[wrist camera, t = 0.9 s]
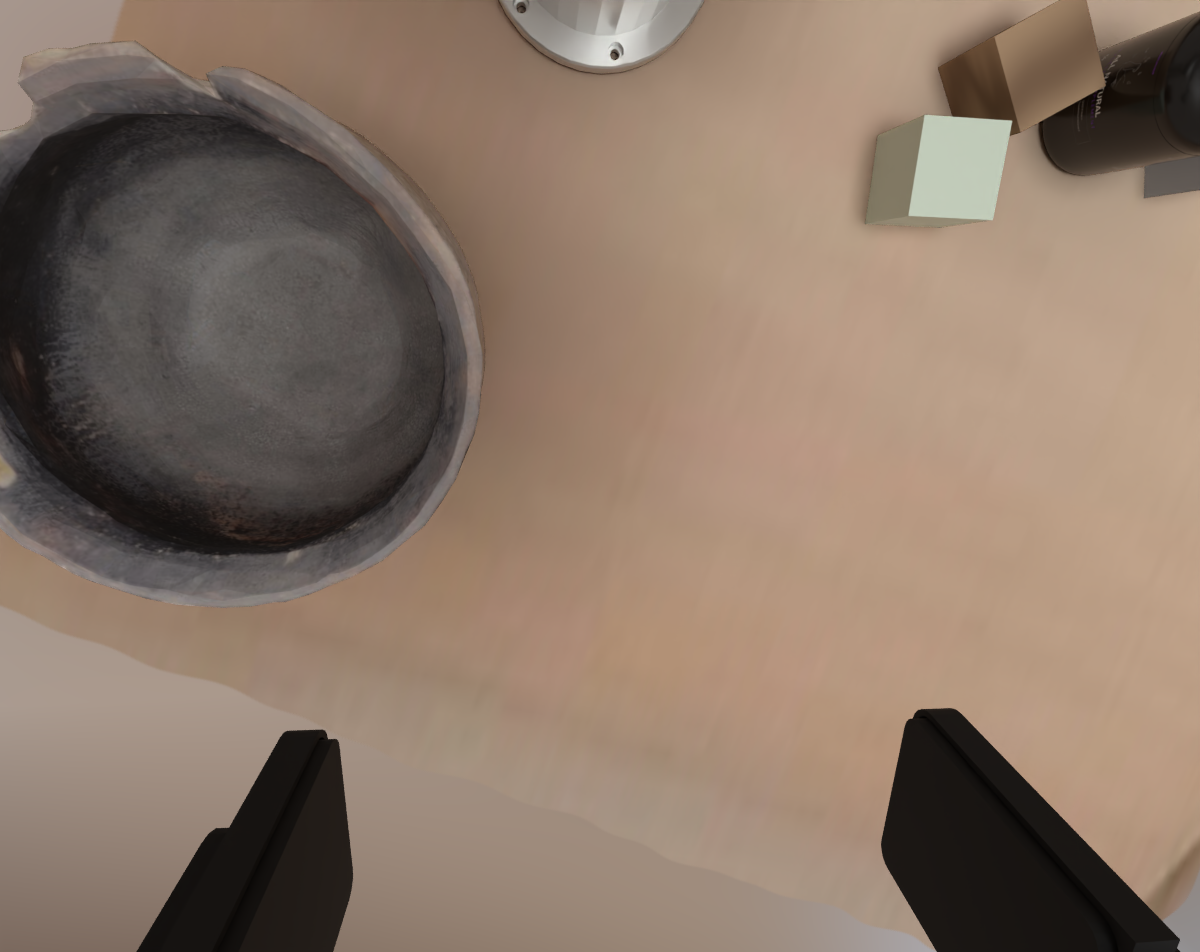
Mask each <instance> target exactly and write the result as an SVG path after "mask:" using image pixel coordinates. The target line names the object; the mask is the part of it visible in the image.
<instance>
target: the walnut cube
mask: <svg viewBox="0 0 1200 952" xmlns="http://www.w3.org/2000/svg"><path fill="white" fill-rule="evenodd" d="M938 70H939V73H940V76H941V80H942V83H943V86H944V89H945V93H946V96H947V99H948V103H949V106H950V109H951V113H952V116H953V117H965V118H980V119H994V120H1009V121H1012V125H1011V130H1010V135H1009V136H1011V135H1014V134H1017V133H1020V132H1022V131H1024V130H1026V129H1028V128H1030V127H1031V126H1033V125H1035V124H1037V123H1039V122H1040V121H1042V120H1044V119H1046V118H1048V117H1050V116H1051V115H1053V114H1055V113H1057V112H1059V111H1061V110H1062V109H1064V108H1066V107H1068V106H1070V105H1072V104H1073V103H1075V102H1077V101H1079V100H1081V99H1082V98H1084V97H1086V96H1088V95H1090V94H1092V93H1093V92H1095V91H1097V90H1099V89H1101V88H1103V87H1104V86H1106V84H1105V79H1104V75H1103V71H1102V66H1101V62H1100V57H1099V53H1098V49H1097V44H1096V40H1095V36H1094V31H1093V27H1092V22H1091V18H1090V14H1089V9H1088V5H1087V1H1086V0H1059V1H1057V2H1055V3H1053V4H1052V5H1050V6H1048V7H1046V8H1044V9H1043V10H1041V11H1039V12H1037V13H1035V14H1033V15H1032V16H1030V17H1028V18H1026V19H1024V20H1022V21H1021V22H1019V23H1017V24H1015V25H1013V26H1012V27H1010V28H1008V29H1006V30H1004V31H1003V32H1001V33H999V34H997V35H995V36H994V37H992V38H990V39H988V40H987V41H985V42H983V43H981V44H979V45H978V46H976V47H974V48H972V49H970V50H969V51H967V52H965V53H963V54H962V55H960V56H958V57H956V58H954V59H953V60H951V61H949V62H947V63H945V64H944V65H942V66H940V67H938Z"/></svg>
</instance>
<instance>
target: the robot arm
mask: <svg viewBox="0 0 1200 952" xmlns="http://www.w3.org/2000/svg"><path fill="white" fill-rule="evenodd" d="M499 2H500V3H501V5H502V7H503V9H504V11H505V13H506V15H507V16H508V18H509V19H510V20H511V22H512V23H513V24H514V26H515V27H516V28H517V30H518V31H519V32H520V34H521V35H522V36H523V37H524V38H525V39H526V40H528V41H529V42H530V43H531V44H532V45H533V46H534V47H535V48H536V49H537V50H538V51H540V52H541V53H543V54H545V55H546V56H548V57H549V58H551V59H553V60H554V61H556V62H557V63H559V64H562V65H565V66H568V67H570V68H573V69H576V70H578V71H584V72H591V73H598V74H603V73H617V72H623V71H627V70H630V69H633V68H637V67H640V66H642V65H644V64H646V63H648V62H650V61H651V60H653V59H655V58H657V57H659V56H660V55H662V54H663V53H664V52H665V51H666V50H667V49H669V48H670V47H671V46H672V45H673V44H674V43H676V42H677V41H678V39H679V38H680V37H681V36H682V34H683V33H684V32H685V31H686V29H687V28H688V27H689V26H690V24H691V23H692V21H693V20H694V18H695V16H696V14H697V13H698V11H699V10H700V8H701V6H702V4H703V2H704V0H499ZM520 5H521V6H524V7H525V8H526V11H525V12H524V13H519V12H518V11H517V8H518V6H520ZM612 52H616V53H617V54H618V56H619V58H618V59H617V60H613V59H611V57H610V54H611V53H612ZM881 848H882V854H883V858H884V861H885V864H886V866H887V868H888V870H889V871H890V873H891V875H892V876H893V878H894V880H895V882H896V883H897V885H898V887H899V888H900V890H901V892H902V893H903V895H904V897H905V898H906V900H907V902H908V904H909V905H910V907H911V909H912V910H913V912H914V914H915V915H916V917H917V919H918V921H919V922H920V924H921V926H922V927H923V929H924V931H925V932H926V934H927V936H928V937H929V939H930V941H931V943H932V944H933V946H934V948H935V949H936V951H937V952H1180V951H1179V950H1178V949H1177V946H1178V944H1179V941H1180V939H1179V938H1178V937H1177V936H1176V935H1175V934H1174V933H1173V932H1172V931H1171V930H1170V929H1169V928H1168V927H1167V926H1166V925H1165V924H1164V923H1163V921H1162V920H1161V919H1160V918H1159V917H1158V916H1157V915H1156V914H1155V913H1154V912H1153V911H1152V910H1151V909H1150V908H1149V907H1148V906H1147V905H1146V904H1145V903H1144V902H1143V901H1142V900H1141V899H1140V898H1139V897H1138V896H1137V895H1136V894H1135V893H1134V892H1133V891H1132V889H1131V888H1130V887H1129V886H1128V885H1127V884H1126V883H1125V882H1124V881H1123V880H1122V879H1121V878H1120V877H1119V876H1118V875H1117V874H1116V873H1115V872H1114V871H1113V870H1112V869H1111V868H1110V867H1109V866H1108V865H1107V864H1106V863H1105V862H1104V861H1103V860H1102V859H1101V857H1100V856H1099V855H1098V854H1097V853H1096V852H1095V851H1094V850H1093V849H1092V848H1091V847H1090V846H1089V845H1088V844H1087V843H1086V842H1085V841H1084V840H1083V839H1082V838H1081V837H1080V836H1079V835H1078V834H1077V833H1076V832H1075V831H1074V830H1073V829H1072V828H1071V827H1070V825H1069V824H1068V823H1067V822H1066V821H1065V820H1064V819H1063V818H1062V817H1061V816H1060V815H1059V814H1058V813H1057V812H1056V811H1055V810H1054V809H1053V808H1052V807H1051V806H1050V805H1049V804H1048V803H1047V802H1046V801H1045V800H1044V799H1043V798H1042V797H1041V796H1040V795H1039V793H1038V792H1037V791H1036V790H1035V789H1034V788H1033V787H1032V786H1031V785H1030V784H1029V783H1028V782H1027V781H1026V780H1025V779H1024V778H1023V777H1022V776H1021V775H1020V774H1019V773H1018V772H1017V771H1016V770H1015V769H1014V768H1013V767H1012V766H1011V765H1010V764H1009V763H1008V761H1007V760H1006V759H1005V758H1004V757H1003V756H1002V755H1001V754H1000V753H999V752H998V751H997V750H996V749H995V748H994V747H993V746H992V745H991V744H990V743H989V742H988V741H987V740H986V739H985V738H984V737H983V736H982V735H981V734H980V733H979V732H978V731H977V729H976V728H975V727H974V726H973V725H972V724H971V723H970V722H969V721H968V720H967V719H966V718H965V717H964V716H963V715H962V714H961V713H960V712H958V711H957V710H955V709H952V708H944V709H921V710H918V711H917V712H916V713H915V714H914V717H913V719H909V720H908V721H907V722H906V725H905V728H904V733H903V738H902V743H901V748H900V753H899V758H898V762H897V767H896V772H895V777H894V782H893V787H892V792H891V797H890V801H889V806H888V811H887V816H886V821H885V826H884V831H883V836H882V841H881ZM352 881H353V867H352V858H351V849H350V839H349V830H348V821H347V812H346V802H345V793H344V784H343V775H342V765H341V757H340V748H339V742H338V740H337V739H328V738H327V734H326V732H325V730H297V731H286V732H284V733H283V734H282V736H281V737H280V739H279V740H278V742H277V744H276V746H275V748H274V749H273V751H272V753H271V755H270V756H269V758H268V760H267V762H266V763H265V765H264V767H263V769H262V771H261V772H260V774H259V776H258V778H257V779H256V781H255V783H254V785H253V786H252V788H251V790H250V792H249V794H248V795H247V797H246V799H245V801H244V802H243V804H242V806H241V808H240V809H239V811H238V813H237V815H236V816H235V818H234V820H233V822H232V824H231V825H230V827H229V828H216V829H215V830H213V831H212V832H210V833H209V834H208V835H207V837H206V838H205V839H204V841H203V842H202V843H201V845H200V847H199V848H198V850H197V852H196V853H195V855H194V857H193V858H192V860H191V862H190V863H189V865H188V867H187V868H186V870H185V872H184V873H183V875H182V877H181V879H180V880H179V882H178V883H177V885H176V887H175V889H174V890H173V892H172V893H171V895H170V897H169V899H168V900H167V902H166V903H165V905H164V907H163V909H162V910H161V912H160V914H159V915H158V917H157V918H156V920H155V922H154V923H153V925H152V927H151V929H150V930H149V932H148V934H147V935H146V937H145V939H144V940H143V942H142V944H141V945H140V947H139V949H138V950H137V952H333V951H334V947H335V944H336V941H337V937H338V934H339V931H340V927H341V924H342V921H343V918H344V915H345V911H346V908H347V905H348V902H349V898H350V894H351V889H352Z"/></svg>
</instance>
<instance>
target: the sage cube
mask: <svg viewBox="0 0 1200 952" xmlns="http://www.w3.org/2000/svg"><path fill="white" fill-rule="evenodd" d="M1011 125H1012V121H1009V120H994V119H980V118H965V117H950V116H935V115H923V116H921V117H919V118H916V119H914V120H912V121H910V122H907V123H905V124H903V125H901V126H898V127H896V128H894V129H891V130H889V131H887V132H885V133H882V134H880V135H878V137H877V144H876V151H875V158H874V165H873V172H872V179H871V186H870V193H869V200H868V207H867V214H866V220H865V224H875V225H896V226H916V227H937V228H941V227H948V226H955V225H962V224H969V223H976V222H983V221H990V220H993V216H994V211H995V206H996V201H997V196H998V191H999V186H1000V181H1001V176H1002V171H1003V166H1004V160H1005V155H1006V150H1007V145H1008V140H1009V135H1010V130H1011Z"/></svg>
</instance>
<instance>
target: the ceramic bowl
mask: <svg viewBox="0 0 1200 952" xmlns="http://www.w3.org/2000/svg"><path fill="white" fill-rule="evenodd" d="M206 75H207V77H208V80H209V81H205V80H200V79H195V78H192V77H191V76H189V75H187V74H185V73H184V72H182V71H180V70H178V69H176V68H175V67H173V66H171V65H170V64H168V63H167V62H165V61H163V60H162V59H160V58H159V57H157V56H156V55H154V54H153V53H152V52H150V51H149V50H147V49H146V48H145V47H143V46H142V45H140V44H139V43H138V42H136V41H123V42H108V43H92V44H87V45H83V46H79V47H75V48H51V49H46V50H43V51H40V52H37V53H34V54H31V55H28V56H25V57H23V62H22V66H21V70H20V75H19V79H18V84H19V85H20V86H21V87H22V89H23V90H24V91H25V92H26V94H27V95H28V96H29V97H30V98H31V100H32V101H33V106H32V113H31V119H30V120H29V121H28V122H27V123H25V124H24V125H22V126H19V127H16V128H14V129H10V130H3V131H0V528H1V529H2V530H3V531H4V532H5V533H6V534H7V535H8V536H10V537H11V538H12V539H14V540H15V541H16V542H18V543H19V544H20V545H22V546H23V547H24V548H27V549H29V550H31V551H33V552H35V553H37V554H40V555H42V556H44V557H45V558H47V559H49V560H50V561H52V562H54V563H55V564H57V565H58V566H60V567H62V568H64V569H66V570H68V571H69V572H71V573H73V574H75V575H78V576H80V577H82V578H85V579H87V580H90V581H92V582H95V583H99V584H102V585H105V586H108V587H111V588H114V589H117V590H121V591H124V592H127V593H130V594H133V595H137V596H140V597H143V598H147V599H152V600H156V601H161V602H166V603H171V604H176V605H189V606H204V607H220V608H226V607H250V606H256V605H261V604H267V603H272V602H286V601H290V600H293V599H296V598H299V597H302V596H305V595H309V594H311V593H314V592H316V591H318V590H321V589H323V588H326V587H328V586H330V585H333V584H335V583H338V582H340V581H343V580H345V579H348V578H350V577H353V576H354V575H356V574H358V573H360V572H362V571H364V570H366V569H368V568H370V567H372V566H373V565H375V564H377V563H379V562H381V561H383V560H384V559H385V558H386V557H387V556H389V555H390V554H391V553H392V552H393V551H394V550H396V549H397V548H398V547H399V546H400V545H401V544H403V543H404V542H405V541H406V540H407V539H409V538H410V537H411V536H412V535H414V534H415V533H416V532H417V531H419V530H420V529H421V528H422V527H423V526H425V525H426V523H427V522H428V520H429V519H430V517H431V516H432V515H433V513H434V512H435V510H436V509H437V508H438V506H439V505H440V503H441V502H442V500H443V499H444V497H445V496H446V494H447V492H448V491H449V489H450V488H451V486H452V484H453V483H454V481H455V480H456V477H457V475H458V472H459V470H460V467H461V465H462V462H463V460H464V458H465V455H466V453H467V450H468V448H469V445H470V443H471V441H472V438H473V436H474V433H475V428H476V424H477V419H478V415H479V407H480V396H481V388H482V383H483V376H484V368H485V342H484V331H483V325H482V319H481V313H480V306H479V299H478V293H477V290H476V286H475V283H474V279H473V276H472V274H471V271H470V269H469V266H468V264H467V261H466V259H465V256H464V253H463V252H462V250H461V248H460V246H459V244H458V242H457V240H456V238H455V236H454V235H453V233H452V232H451V230H450V228H449V227H448V225H447V224H446V222H445V220H444V219H443V217H442V216H441V215H440V213H439V212H438V211H437V209H436V208H435V207H434V205H433V204H432V202H431V201H430V200H429V198H428V197H427V196H426V194H425V193H424V192H423V191H422V190H421V189H420V188H419V186H418V185H417V184H416V183H415V182H414V181H413V180H412V179H411V178H410V177H409V176H408V175H407V174H406V173H405V172H404V171H403V170H401V169H400V168H399V167H398V166H397V165H396V164H395V163H394V162H393V161H392V160H391V159H389V158H388V157H387V156H386V155H385V154H384V153H383V152H381V151H380V150H379V149H378V148H377V147H375V146H374V145H373V144H372V143H371V142H369V141H368V140H367V139H365V138H364V137H363V136H361V135H360V134H358V133H357V132H355V131H353V130H352V129H350V128H348V127H347V126H345V125H343V124H341V123H339V122H337V121H335V120H333V119H331V118H329V117H328V116H327V115H325V114H324V113H322V112H321V111H319V110H318V109H316V108H315V107H313V106H312V105H310V104H308V103H307V102H305V101H304V100H302V99H301V98H299V97H298V96H296V95H295V94H293V93H292V92H290V91H289V90H287V89H286V88H284V87H283V86H282V85H280V84H278V83H276V82H274V81H272V80H269V79H267V78H265V77H263V76H261V75H258V74H256V73H254V72H251V71H249V70H247V69H243V68H235V67H226V66H222V67H220V68H217V69H215V70H213V71H211V72H208V73H206Z"/></svg>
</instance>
